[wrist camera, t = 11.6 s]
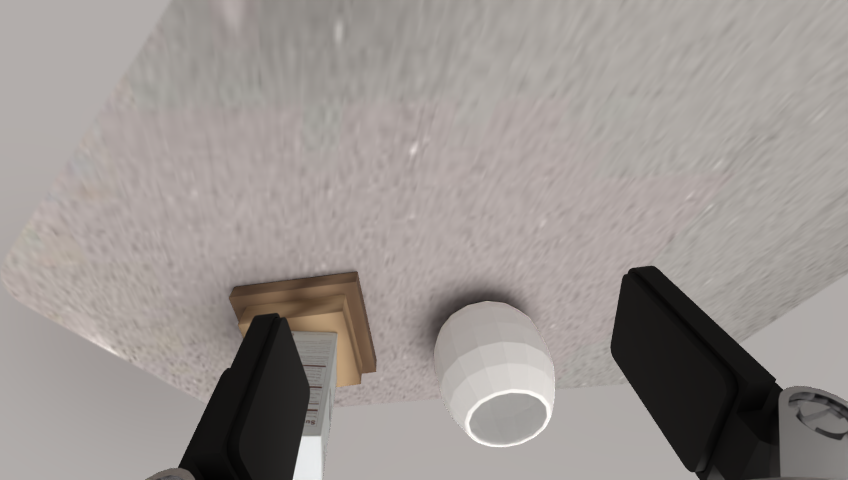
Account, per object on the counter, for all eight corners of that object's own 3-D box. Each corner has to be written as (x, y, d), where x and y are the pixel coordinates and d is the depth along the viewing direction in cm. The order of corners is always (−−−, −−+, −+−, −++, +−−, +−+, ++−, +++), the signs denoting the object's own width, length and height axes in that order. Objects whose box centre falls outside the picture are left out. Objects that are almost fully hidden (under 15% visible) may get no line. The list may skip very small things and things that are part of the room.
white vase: (429, 290, 48) (442, 378, 36) (537, 283, 49) (585, 368, 37) (430, 369, 54) (442, 466, 43) (526, 362, 55) (563, 456, 43)
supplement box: (338, 379, 47) (322, 490, 36) (272, 377, 46) (235, 490, 35) (340, 330, 43) (323, 437, 32) (269, 327, 42) (226, 436, 31)
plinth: (357, 271, 46) (354, 298, 41) (376, 360, 53) (375, 390, 48) (234, 286, 46) (218, 315, 41) (269, 373, 52) (259, 405, 48)
